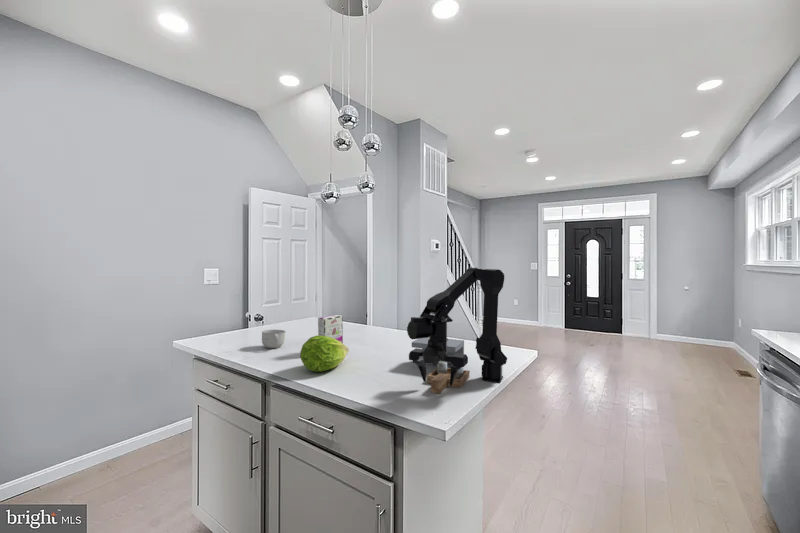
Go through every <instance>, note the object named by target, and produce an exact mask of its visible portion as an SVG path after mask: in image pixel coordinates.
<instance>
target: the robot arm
mask: <svg viewBox="0 0 800 533" xmlns="http://www.w3.org/2000/svg"><path fill="white" fill-rule="evenodd" d="M477 281H479V285H480V288H481V290H482V292H483V310H482V311H483V314H482V315H483V316H482V318H483V319H482V333H481V335H480V336H479V337H476V340H475V343H476V344H475V350H476V353H477V354H478V358H479V360H481V361H483V364H481V380H482V381H487V382H495V383H501V382H502V380H503V379H504V376H503V366H504V365H506V364H507V362H508V357H507V356H506V354H504V353H503V351H502V346H501V343H502V342H501V340H500V338H499V336H498V334H497V333H498V311H499V294H500V293H501V292H502V290H503V288H504V284H505V273H504V272H503V271H502V270H501V269H496V268H493V269H492V268H485V269H482V268H479V267H468V268H467V269H466V270H465V271H464V273H462V275H461V276H460V277H458V278H457V279H456V280H455V281H454V282H453V283H452V284H451V285H449V286H448V287H447V288H446V289H444V290H443V291H442V292H438V293H436V294H434V295H433V296H431V297H430V298H429V299H428V300H427V301H426V306H425V307H424V309H423V310H422V312H421V314H420V316H418V317H417V316H412V317H410V320H409V322H408V324H407V327H406V332H407V336H408V337H409V339H411V340H417V339H420V338H428V337H429V340H428V345H427V347H426V349H422V348H414V349H412V350H411V351H409V353H408V361H412V363H413V364H416V366H417V368H418V369H419V372H420V374H421V378H422V381H423V382H427V365H428V364H430V365H433V366H435V365H436V366H437V364H438V363H439V361H440V360H441V361H448V362H451V365H450V367H449V368H451V376H450V386H449V387H451V386H452V384H453V382H454V379H455V376H456V374H457V371H458V370H459V369H460V368H461V367H463V368H464V367H466V365H467V364H468V363H469V356H468V355H467V354H465V353H464V354H458V353H456V354H454V355H453V356H449V355H447V353H448V350H447V341H448V339H449V338H448V323H451V322H453V318H451V317H450V316H449V314H450V312H451V311H452V310H453V308H454V306H455V303H456V301H457V300H458V299H459V298H460V297H461V296H462V295H463V294H464V293H465V292H466V291H467V290H469V289H470V288H471V287H472V286H473V285H474V284H475V283H476V282H477Z"/></svg>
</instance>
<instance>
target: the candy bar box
mask: <svg viewBox="0 0 800 533" xmlns="http://www.w3.org/2000/svg"><path fill="white" fill-rule="evenodd" d="M343 327H344V326H343V315H341V314H340V315H338V314H335V315H334V314H333V315H328V316H322V317H318V318H317V333H318V335H321V336H327V337H331V338H334V339H336V340H338V341H340V342H341V343H342V344H344V341H343V340H344V339H343V332H344V330H343V329H344V328H343ZM318 335H317V336H318Z"/></svg>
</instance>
